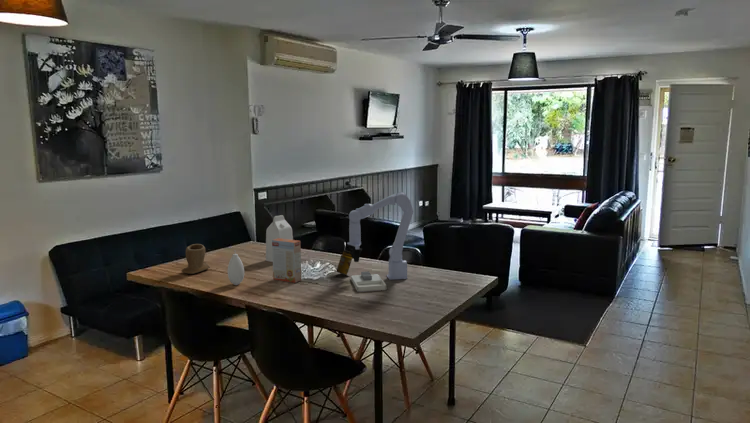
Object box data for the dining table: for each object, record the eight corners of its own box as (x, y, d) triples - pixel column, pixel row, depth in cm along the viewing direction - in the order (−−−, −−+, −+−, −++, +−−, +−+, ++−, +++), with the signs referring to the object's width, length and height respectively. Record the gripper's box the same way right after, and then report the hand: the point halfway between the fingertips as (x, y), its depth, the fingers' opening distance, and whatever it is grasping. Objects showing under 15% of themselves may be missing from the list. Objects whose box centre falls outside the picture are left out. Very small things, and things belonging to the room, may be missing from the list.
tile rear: (368, 275, 276) (368, 271, 276) (370, 277, 272) (370, 273, 272) (361, 275, 275) (361, 271, 275) (362, 277, 271) (362, 273, 271)
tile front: (370, 277, 272) (370, 273, 271) (371, 279, 268) (371, 276, 267) (362, 278, 271) (362, 274, 271) (363, 280, 267) (363, 276, 267)
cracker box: (302, 280, 274) (301, 240, 270) (294, 283, 269) (293, 242, 265) (280, 276, 281) (279, 237, 277) (272, 279, 275) (271, 239, 272)
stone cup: (194, 276, 281) (192, 248, 278) (178, 273, 287) (176, 246, 284) (216, 269, 294) (214, 243, 291) (200, 267, 300) (199, 240, 297)
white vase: (239, 281, 273) (237, 246, 270) (247, 284, 267) (246, 249, 264) (225, 284, 267) (223, 249, 264) (233, 287, 262) (231, 251, 259)
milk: (280, 256, 323) (279, 213, 319) (294, 259, 316) (293, 215, 312) (265, 260, 313) (264, 216, 309) (279, 263, 307) (278, 218, 302)
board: (378, 277, 278) (378, 274, 278) (382, 284, 268) (382, 280, 267) (351, 279, 276) (351, 275, 275) (354, 285, 265) (354, 281, 265)
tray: (382, 284, 267) (382, 279, 267) (386, 290, 258) (386, 285, 257) (354, 285, 265) (354, 281, 264) (357, 291, 255) (357, 287, 255)
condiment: (350, 276, 281) (357, 254, 282) (336, 272, 276) (343, 250, 277) (343, 273, 287) (349, 251, 288) (330, 269, 282) (336, 247, 283)
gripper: (345, 231, 281) (345, 257, 283) (349, 237, 266) (349, 264, 269) (358, 231, 282) (358, 256, 284) (363, 236, 268) (363, 263, 270)
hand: (355, 260), depth 277 cm, fingers open, 7 cm apart
